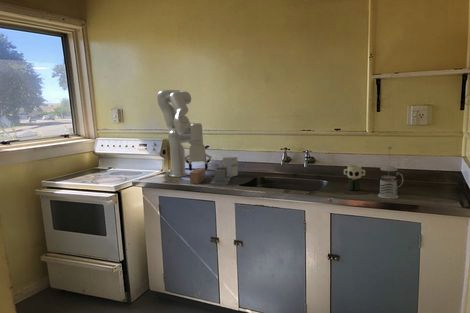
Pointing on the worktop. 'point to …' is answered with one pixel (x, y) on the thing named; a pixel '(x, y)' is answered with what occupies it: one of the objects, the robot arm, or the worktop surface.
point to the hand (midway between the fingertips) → (198, 170)
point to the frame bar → (197, 175)
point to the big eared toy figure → (354, 176)
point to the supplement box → (231, 165)
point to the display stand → (221, 176)
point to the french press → (386, 180)
